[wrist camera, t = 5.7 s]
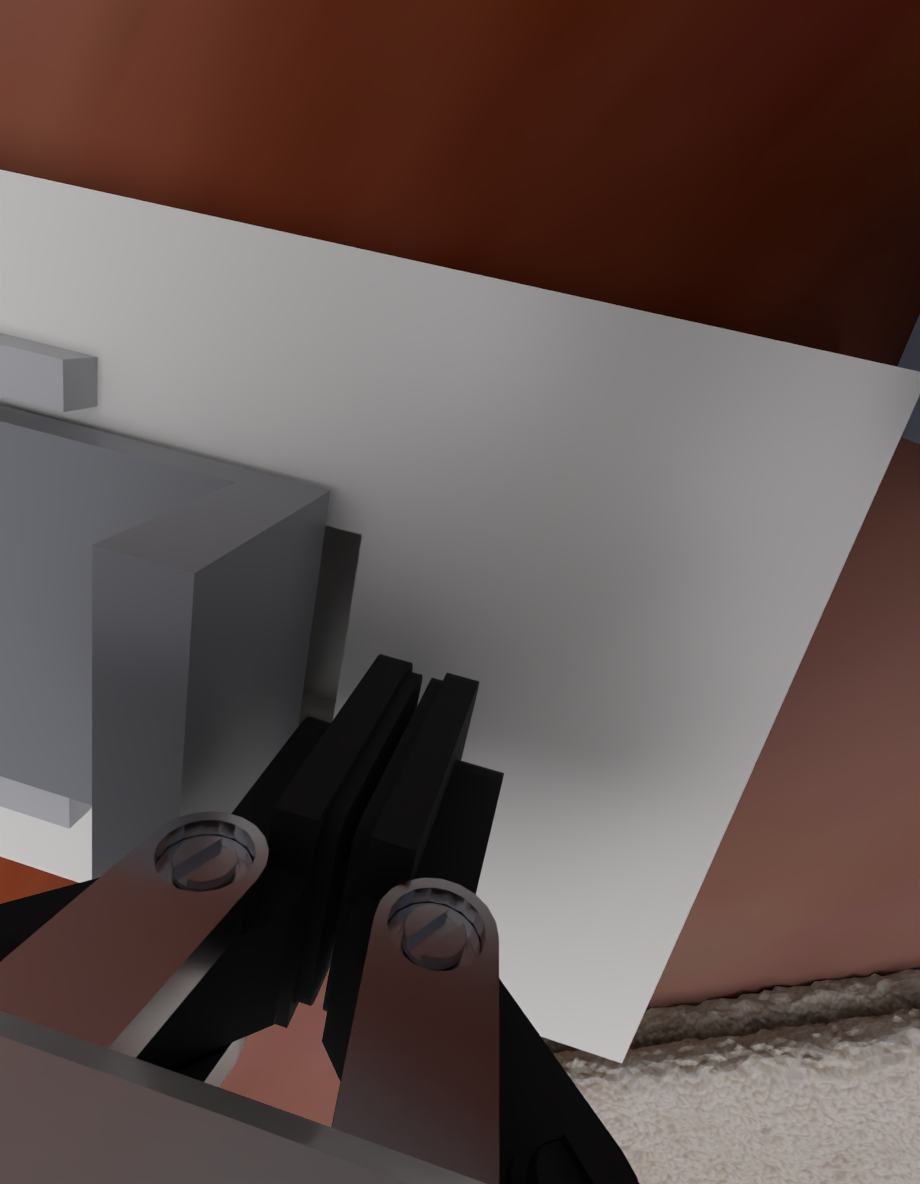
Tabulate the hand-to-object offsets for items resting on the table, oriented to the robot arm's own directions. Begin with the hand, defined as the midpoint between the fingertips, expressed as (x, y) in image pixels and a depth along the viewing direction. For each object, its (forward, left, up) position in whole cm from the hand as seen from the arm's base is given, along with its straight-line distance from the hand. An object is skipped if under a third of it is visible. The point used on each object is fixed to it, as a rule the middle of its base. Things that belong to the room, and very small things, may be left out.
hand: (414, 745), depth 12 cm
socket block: (+5, 0, -5) cm, 7 cm away
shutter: (+6, 0, -1) cm, 6 cm away
